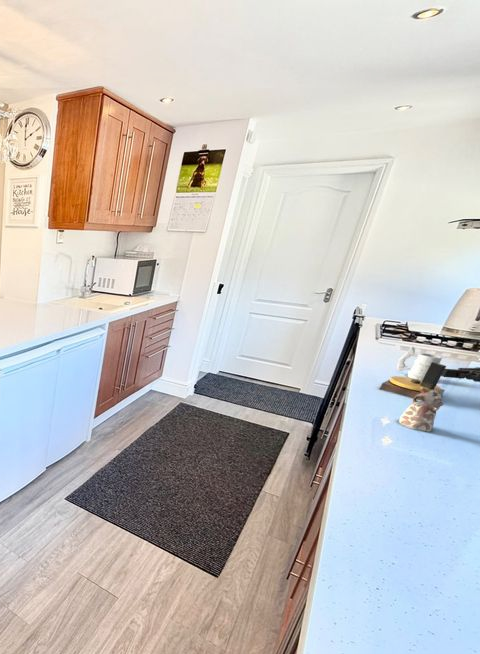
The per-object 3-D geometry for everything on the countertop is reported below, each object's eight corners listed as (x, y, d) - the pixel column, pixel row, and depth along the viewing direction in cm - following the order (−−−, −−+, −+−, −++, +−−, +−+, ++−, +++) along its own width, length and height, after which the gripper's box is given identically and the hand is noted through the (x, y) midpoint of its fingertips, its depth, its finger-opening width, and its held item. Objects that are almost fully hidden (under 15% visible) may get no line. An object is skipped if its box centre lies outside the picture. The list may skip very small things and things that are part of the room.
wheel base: (441, 396, 148) (445, 389, 147) (431, 403, 141) (435, 396, 140) (390, 383, 159) (393, 377, 158) (379, 389, 152) (382, 383, 151)
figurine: (424, 433, 119) (444, 396, 115) (393, 422, 125) (411, 387, 120) (435, 429, 122) (455, 393, 117) (404, 418, 128) (422, 384, 123)
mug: (431, 383, 161) (446, 354, 157) (391, 374, 170) (404, 347, 165) (433, 379, 166) (448, 351, 161) (394, 370, 174) (406, 344, 169)
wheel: (443, 388, 147) (457, 362, 143) (434, 395, 141) (448, 368, 137) (395, 377, 157) (407, 352, 153) (384, 382, 151) (397, 357, 147)
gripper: (533, 395, 136) (457, 389, 138) (491, 381, 148) (422, 376, 150) (546, 375, 133) (468, 369, 135) (502, 362, 145) (431, 357, 147)
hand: (444, 372), depth 143 cm, fingers closed
